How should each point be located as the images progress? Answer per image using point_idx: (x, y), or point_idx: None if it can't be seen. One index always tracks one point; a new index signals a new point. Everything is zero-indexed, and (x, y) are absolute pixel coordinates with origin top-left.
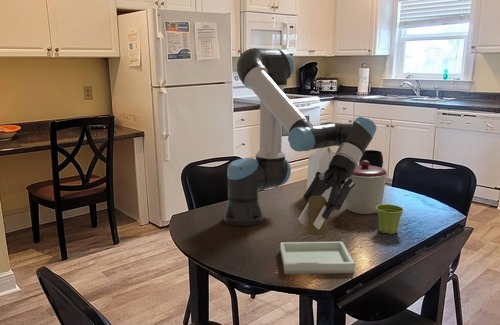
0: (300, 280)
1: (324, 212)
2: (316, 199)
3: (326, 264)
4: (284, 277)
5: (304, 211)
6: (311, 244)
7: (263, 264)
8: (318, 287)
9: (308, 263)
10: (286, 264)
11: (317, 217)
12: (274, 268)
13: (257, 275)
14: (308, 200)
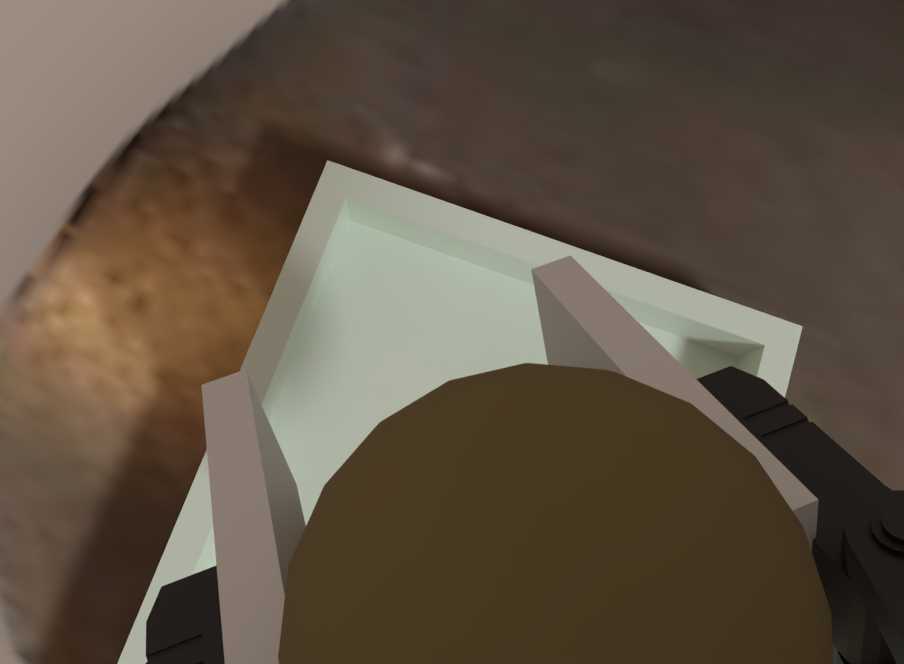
0: (188, 263)
1: (221, 644)
2: (388, 506)
3: (178, 521)
4: (286, 173)
5: (614, 353)
6: None
7: (557, 118)
8: (22, 339)
9: (257, 361)
10: (322, 174)
11: (248, 461)
12: (459, 166)
13: (397, 11)
14: (854, 510)
